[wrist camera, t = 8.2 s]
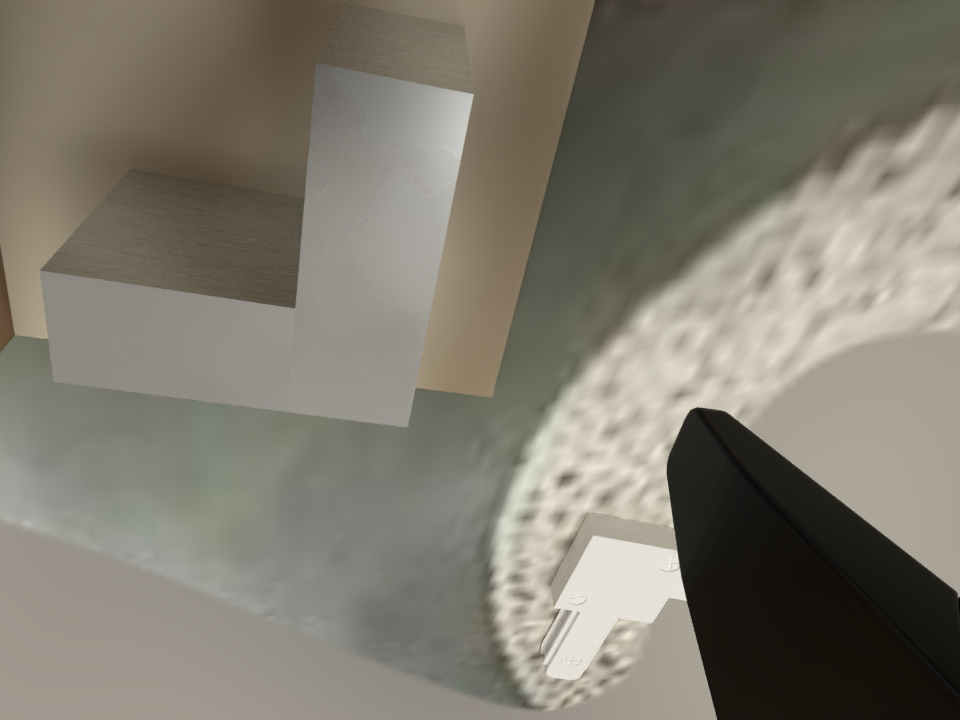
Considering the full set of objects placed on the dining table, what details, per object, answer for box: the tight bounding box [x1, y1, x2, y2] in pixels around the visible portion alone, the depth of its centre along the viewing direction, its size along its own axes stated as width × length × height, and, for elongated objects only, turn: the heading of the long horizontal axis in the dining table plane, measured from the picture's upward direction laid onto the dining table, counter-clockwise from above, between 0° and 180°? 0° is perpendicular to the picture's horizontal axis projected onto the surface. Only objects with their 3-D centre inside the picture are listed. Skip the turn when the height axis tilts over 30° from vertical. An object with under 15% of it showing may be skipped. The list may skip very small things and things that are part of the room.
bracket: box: [40, 3, 474, 428], centre depth 16 cm, size 7×7×5 cm
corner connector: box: [540, 513, 687, 680], centre depth 28 cm, size 8×8×2 cm
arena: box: [0, 0, 595, 398], centre depth 16 cm, size 14×14×3 cm
